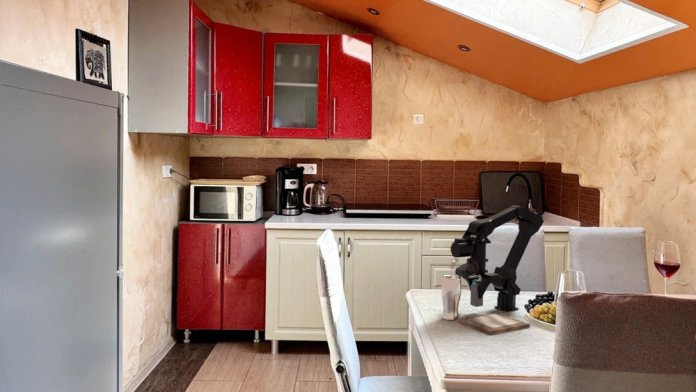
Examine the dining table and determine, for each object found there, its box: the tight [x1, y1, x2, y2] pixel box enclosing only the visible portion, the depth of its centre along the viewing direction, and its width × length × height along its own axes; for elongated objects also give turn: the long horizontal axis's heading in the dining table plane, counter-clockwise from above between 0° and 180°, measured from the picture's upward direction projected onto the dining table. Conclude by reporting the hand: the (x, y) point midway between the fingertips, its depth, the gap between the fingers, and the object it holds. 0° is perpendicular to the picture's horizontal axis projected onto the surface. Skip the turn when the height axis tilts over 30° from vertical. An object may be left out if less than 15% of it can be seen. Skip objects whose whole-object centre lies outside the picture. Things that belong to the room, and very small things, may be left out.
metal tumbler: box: [441, 274, 462, 322], centre depth 205 cm, size 7×7×15 cm
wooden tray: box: [457, 311, 531, 336], centre depth 198 cm, size 18×16×2 cm
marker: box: [469, 280, 484, 308], centre depth 212 cm, size 3×3×9 cm
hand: (476, 297), depth 212 cm, fingers closed on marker, 3 cm apart
